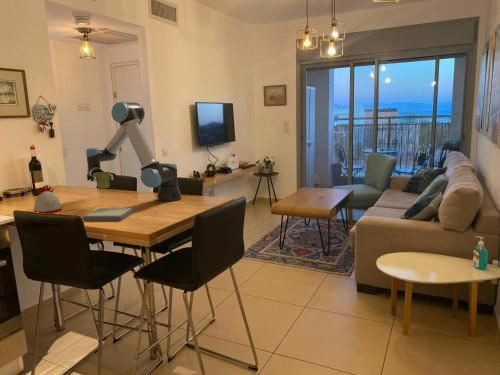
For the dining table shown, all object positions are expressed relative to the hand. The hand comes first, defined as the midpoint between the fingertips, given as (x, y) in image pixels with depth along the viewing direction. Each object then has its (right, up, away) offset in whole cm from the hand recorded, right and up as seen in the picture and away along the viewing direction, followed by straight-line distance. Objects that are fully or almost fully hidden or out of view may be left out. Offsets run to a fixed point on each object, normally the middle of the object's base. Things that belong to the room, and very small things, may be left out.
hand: (104, 178), depth 210 cm
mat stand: (+9, -21, -14) cm, 27 cm away
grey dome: (-32, -19, +1) cm, 38 cm away
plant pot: (-2, -5, +5) cm, 8 cm away
